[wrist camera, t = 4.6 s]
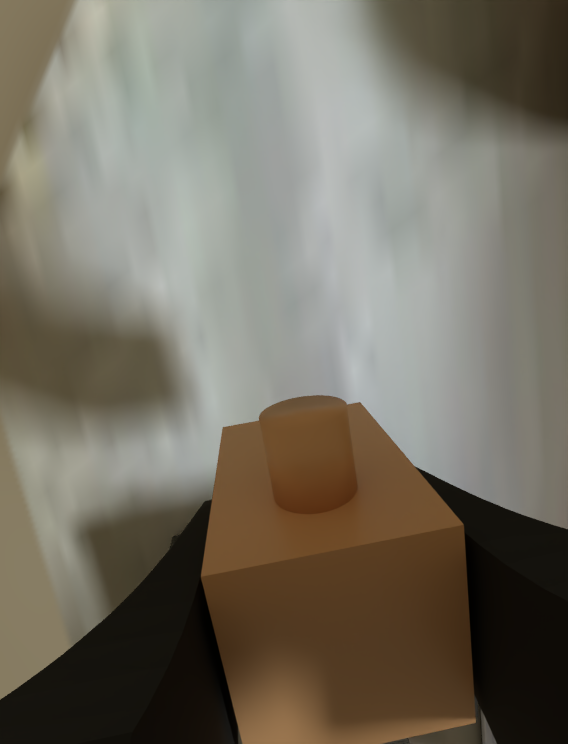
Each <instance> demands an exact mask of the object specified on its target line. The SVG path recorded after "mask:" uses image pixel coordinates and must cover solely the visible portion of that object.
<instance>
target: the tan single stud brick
mask: <svg viewBox="0 0 568 744" xmlns="http://www.w3.org/2000/svg"><path fill="white" fill-rule="evenodd" d="M201 580H202V584H203V588H204V592H205V596H206V600H207V604H208V608H209V612H210V616H211V620H212V624H213V628H214V632H215V636H216V640H217V644H218V648H219V652H220V656H221V660H222V664H223V668H224V672H225V676H226V680H227V684H228V688H229V692H230V696H231V700H232V704H233V708H234V712H235V716H236V720H237V724H238V728H239V732H240V736H241V740H242V744H382V743H387V742H391V741H396V740H400V739H405V738H409V737H414V736H419V735H423V734H428V733H432V732H437V731H441V730H446V729H450V728H455V727H459V726H464V725H468V724H473V723H476V717H475V700H474V684H473V667H472V651H471V634H470V618H469V601H468V585H467V568H466V552H465V535H464V524H463V523H462V522H461V521H460V520H459V518H458V517H457V516H456V515H455V514H454V512H453V511H452V510H451V509H450V508H449V507H448V505H447V504H446V503H445V502H444V501H443V499H442V498H441V497H440V496H439V495H438V494H437V492H436V491H435V490H434V489H433V488H432V486H431V485H430V484H429V483H428V482H427V481H426V479H425V478H424V477H423V476H422V475H421V473H420V472H419V471H418V470H417V469H416V468H415V466H414V465H413V464H412V463H411V462H410V460H409V459H408V458H407V457H406V456H405V455H404V453H403V452H402V451H401V450H400V449H399V448H398V446H397V445H396V444H395V443H394V442H393V440H392V439H391V438H390V437H389V436H388V435H387V433H386V432H385V431H384V430H383V429H382V427H381V426H380V425H379V424H378V423H377V422H376V420H375V419H374V418H373V417H372V416H371V414H370V413H369V412H368V411H367V410H366V409H365V407H364V406H363V405H362V404H361V403H360V402H359V403H353V404H348V405H347V404H346V402H345V401H344V400H342V399H340V398H337V397H332V396H323V395H316V396H303V397H297V398H292V399H288V400H285V401H281V402H279V403H276V404H274V405H272V406H270V407H268V408H266V409H265V410H264V411H263V412H262V413H261V414H260V416H259V421H255V422H249V423H244V424H238V425H233V426H228V427H223V429H222V436H221V443H220V450H219V456H218V463H217V470H216V477H215V484H214V490H213V497H212V504H211V511H210V518H209V525H208V531H207V538H206V545H205V552H204V559H203V565H202V572H201Z"/></svg>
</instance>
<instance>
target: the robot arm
mask: <svg viewBox="0 0 568 744" xmlns="http://www.w3.org/2000/svg"><path fill="white" fill-rule="evenodd" d="M415 468H416V469H417V470H418V471H419V472H420V473H421V475H422V476H423V477H424V478H425V479H426V481H427V482H428V483H429V484H430V485H431V486H432V488H433V489H434V490H435V491H436V492H437V494H438V495H439V496H440V497H441V498H442V499H443V501H444V502H445V503H446V504H447V505H448V507H449V508H450V509H451V510H452V511H453V512H454V514H455V515H456V516H457V517H458V518H459V520H460V521H461V522H462V523H463V524H464V535H465V552H466V568H467V585H468V601H469V618H470V634H471V651H472V667H473V684H474V695H475V697H476V699H477V701H478V703H479V706H480V708H481V725H482V743H483V744H568V529H565V528H561V527H558V526H554V525H551V524H548V523H545V522H542V521H539V520H536V519H533V518H530V517H527V516H524V515H521V514H519V513H516V512H513V511H510V510H508V509H505V508H503V507H500V506H498V505H496V504H493V503H491V502H488V501H486V500H483V499H481V498H479V497H477V496H475V495H472V494H470V493H468V492H466V491H464V490H461V489H459V488H457V487H455V486H453V485H451V484H449V483H447V482H445V481H443V480H441V479H439V478H437V477H435V476H433V475H431V474H429V473H427V472H425V471H423V470H421V469H419V468H417V467H415ZM211 504H212V500H209V501H205V502H204V503H203V505H202V506H201V507H200V509H199V510H198V511H197V513H196V514H195V516H194V517H193V518H192V520H191V521H190V523H189V524H188V525H187V527H186V528H185V530H184V531H183V532H182V534H181V535H180V536H179V538H178V539H177V540H176V542H175V543H174V544H173V546H172V547H171V548H170V550H169V551H168V552H167V553H166V555H165V556H164V557H163V558H162V559H161V561H160V562H159V563H158V564H157V565H156V567H155V568H154V569H153V570H152V571H151V572H150V574H149V575H148V576H147V577H146V578H145V579H144V580H143V582H142V583H141V584H140V585H139V586H138V587H137V588H136V589H135V590H134V591H133V592H132V593H131V594H130V595H129V596H128V597H127V598H126V599H125V600H124V601H123V602H122V603H121V604H120V605H119V606H118V607H117V608H116V609H115V610H114V611H113V612H112V613H111V614H110V615H109V616H107V617H106V618H105V619H104V620H103V621H102V622H101V623H99V624H98V625H97V626H96V627H95V628H94V629H92V630H91V631H90V632H89V633H88V634H87V635H85V636H84V637H83V638H82V639H81V640H80V641H78V642H77V643H76V644H75V645H74V646H73V647H71V648H70V649H69V650H68V651H66V652H65V653H64V654H63V655H61V656H60V657H59V658H57V659H56V660H55V661H54V662H52V663H51V664H50V665H48V666H47V667H46V668H44V669H43V670H42V671H40V672H39V673H38V674H36V675H35V676H33V677H32V678H31V679H29V680H28V681H27V682H25V683H24V684H22V685H21V686H20V687H18V688H17V689H15V690H14V691H12V692H11V693H10V694H8V695H7V696H5V697H4V698H2V699H1V700H0V744H238V724H237V720H236V716H235V712H234V708H233V704H232V700H231V696H230V692H229V688H228V684H227V680H226V676H225V672H224V668H223V664H222V660H221V656H220V652H219V648H218V644H217V640H216V636H215V632H214V628H213V624H212V620H211V616H210V612H209V608H208V604H207V600H206V596H205V592H204V588H203V584H202V580H201V572H202V565H203V559H204V552H205V545H206V538H207V531H208V525H209V518H210V511H211Z"/></svg>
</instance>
